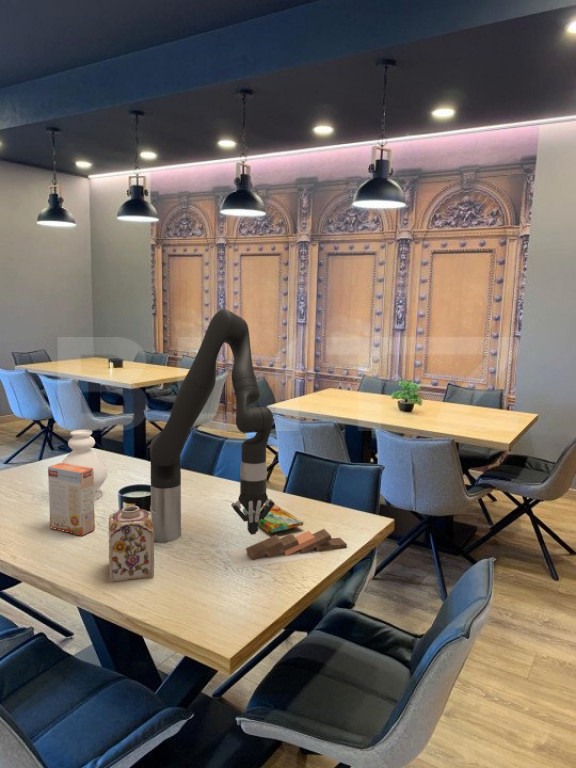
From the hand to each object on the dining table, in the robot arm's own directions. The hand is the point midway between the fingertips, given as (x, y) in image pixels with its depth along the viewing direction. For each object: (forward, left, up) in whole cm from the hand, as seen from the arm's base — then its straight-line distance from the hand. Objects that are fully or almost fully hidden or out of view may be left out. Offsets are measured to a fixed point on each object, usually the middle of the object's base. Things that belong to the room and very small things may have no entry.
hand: (252, 533), depth 164 cm
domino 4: (+14, 0, -6) cm, 16 cm away
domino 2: (+4, 0, -6) cm, 7 cm away
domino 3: (+9, 0, -6) cm, 11 cm away
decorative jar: (-34, +2, -8) cm, 35 cm away
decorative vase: (-47, +67, -8) cm, 82 cm away
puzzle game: (+13, +22, -8) cm, 27 cm away
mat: (+7, 0, -8) cm, 10 cm away
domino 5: (+19, 0, -6) cm, 20 cm away
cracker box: (-50, +36, -8) cm, 62 cm away
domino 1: (-1, 0, -6) cm, 6 cm away
